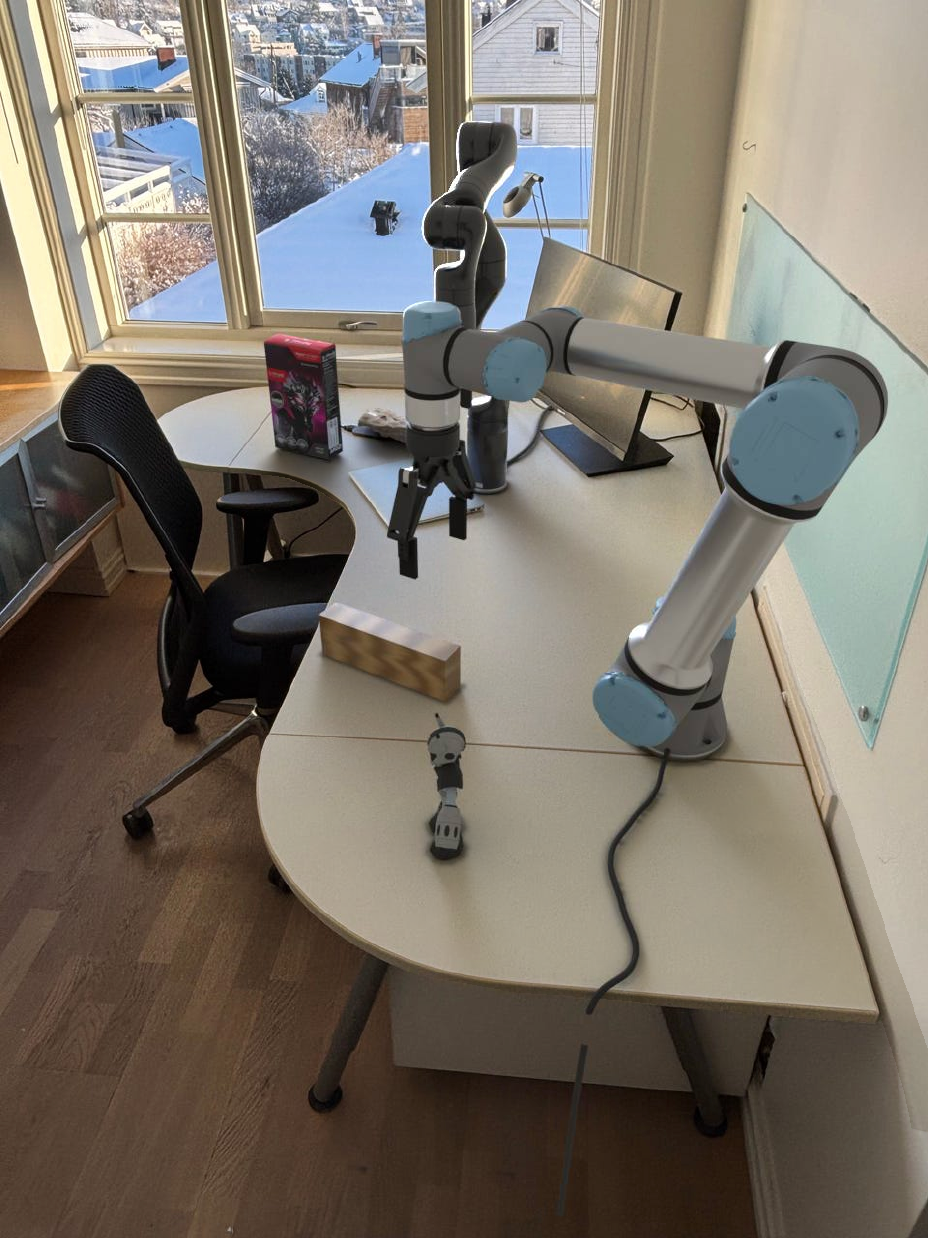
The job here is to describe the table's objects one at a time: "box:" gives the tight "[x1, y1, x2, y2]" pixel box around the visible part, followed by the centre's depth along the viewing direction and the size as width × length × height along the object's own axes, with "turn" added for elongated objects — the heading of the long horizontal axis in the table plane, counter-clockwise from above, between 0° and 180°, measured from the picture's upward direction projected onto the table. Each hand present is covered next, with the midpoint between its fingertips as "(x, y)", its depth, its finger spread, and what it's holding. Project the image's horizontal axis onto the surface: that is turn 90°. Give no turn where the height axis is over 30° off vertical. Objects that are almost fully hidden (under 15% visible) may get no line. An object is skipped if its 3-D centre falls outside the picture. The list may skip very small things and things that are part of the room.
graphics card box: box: [263, 333, 344, 460], centre depth 223 cm, size 17×7×27 cm, turn 62°
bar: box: [318, 601, 462, 703], centre depth 153 cm, size 25×5×8 cm, turn 59°
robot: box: [426, 712, 467, 861], centre depth 119 cm, size 20×5×20 cm, turn 3°
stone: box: [357, 407, 407, 444], centre depth 236 cm, size 21×15×6 cm
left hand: (454, 414), depth 172 cm, fingers open, 8 cm apart
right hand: (434, 556), depth 138 cm, fingers open, 13 cm apart
